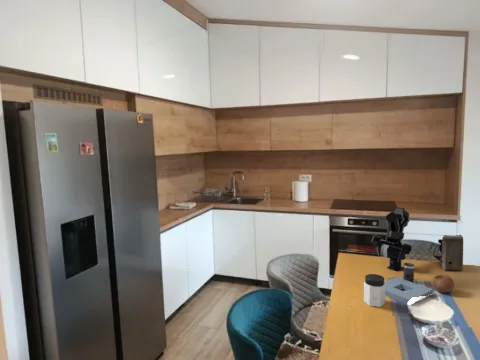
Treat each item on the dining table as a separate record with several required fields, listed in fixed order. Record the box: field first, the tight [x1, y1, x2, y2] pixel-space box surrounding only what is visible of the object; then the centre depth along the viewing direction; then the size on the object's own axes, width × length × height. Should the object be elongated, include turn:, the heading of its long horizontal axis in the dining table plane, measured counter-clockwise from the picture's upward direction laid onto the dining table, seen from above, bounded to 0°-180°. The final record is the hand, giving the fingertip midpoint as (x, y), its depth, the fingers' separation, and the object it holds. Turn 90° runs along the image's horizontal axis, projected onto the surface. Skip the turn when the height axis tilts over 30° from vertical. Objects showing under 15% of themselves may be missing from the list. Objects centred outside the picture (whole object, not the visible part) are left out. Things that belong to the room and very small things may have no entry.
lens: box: [402, 262, 415, 283], centre depth 174 cm, size 5×5×9 cm
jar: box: [363, 273, 386, 308], centre depth 153 cm, size 9×8×12 cm
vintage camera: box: [433, 234, 464, 272], centre depth 190 cm, size 10×16×20 cm, turn 174°
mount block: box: [384, 276, 434, 305], centre depth 162 cm, size 18×18×2 cm
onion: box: [431, 273, 455, 294], centre depth 161 cm, size 9×9×10 cm
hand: (388, 258), depth 170 cm, fingers open, 9 cm apart
